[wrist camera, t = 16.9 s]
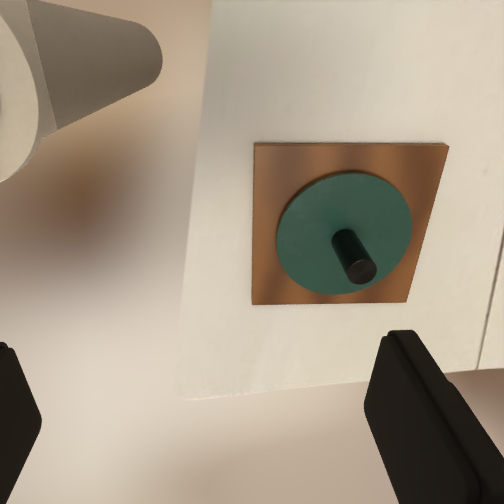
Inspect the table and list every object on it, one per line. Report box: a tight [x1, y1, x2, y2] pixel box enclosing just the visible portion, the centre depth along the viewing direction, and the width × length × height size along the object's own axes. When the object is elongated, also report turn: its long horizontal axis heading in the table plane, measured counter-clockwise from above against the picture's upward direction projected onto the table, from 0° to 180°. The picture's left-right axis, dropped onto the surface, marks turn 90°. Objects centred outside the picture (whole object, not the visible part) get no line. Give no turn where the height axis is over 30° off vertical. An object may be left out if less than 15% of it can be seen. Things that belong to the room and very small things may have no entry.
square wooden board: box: [252, 143, 449, 305], centre depth 38 cm, size 18×18×1 cm
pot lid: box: [276, 172, 412, 295], centre depth 34 cm, size 14×14×7 cm
